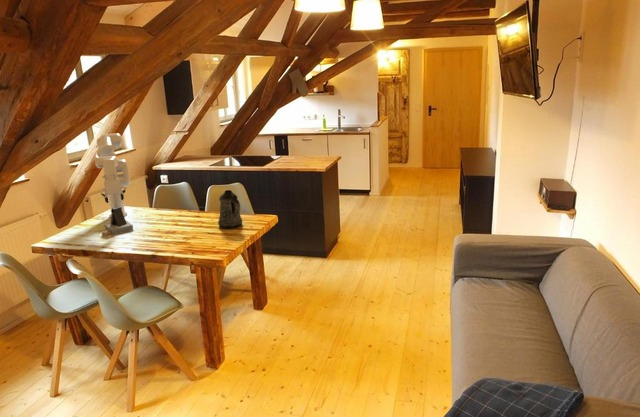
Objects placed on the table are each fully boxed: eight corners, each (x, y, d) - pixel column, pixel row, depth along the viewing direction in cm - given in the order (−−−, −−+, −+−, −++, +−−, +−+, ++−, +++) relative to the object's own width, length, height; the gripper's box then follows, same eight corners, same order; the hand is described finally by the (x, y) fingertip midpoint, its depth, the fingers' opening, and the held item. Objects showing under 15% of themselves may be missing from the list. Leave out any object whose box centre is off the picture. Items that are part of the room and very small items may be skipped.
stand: (105, 229, 324) (104, 224, 323) (126, 225, 332) (125, 219, 331) (112, 235, 312) (111, 229, 311) (133, 230, 320) (132, 224, 319)
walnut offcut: (102, 236, 311) (101, 231, 310) (108, 234, 314) (107, 230, 313) (105, 237, 308) (104, 233, 307) (111, 236, 311) (110, 231, 310)
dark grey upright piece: (226, 221, 334) (223, 187, 327) (250, 223, 327) (248, 188, 321) (213, 228, 319) (210, 193, 312) (239, 230, 312) (236, 194, 306)
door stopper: (126, 223, 322) (124, 207, 318) (119, 226, 317) (116, 209, 313) (117, 222, 326) (115, 205, 323) (110, 224, 321) (107, 208, 317)
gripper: (98, 179, 304) (102, 205, 309) (126, 175, 314) (129, 200, 319) (95, 177, 310) (99, 202, 315) (122, 173, 320) (126, 197, 325)
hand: (114, 201), depth 317 cm, fingers open, 9 cm apart
